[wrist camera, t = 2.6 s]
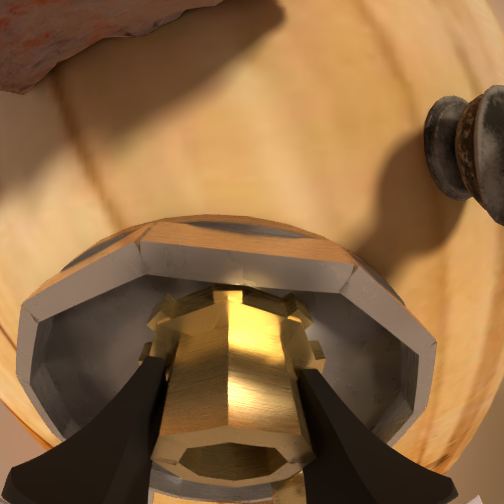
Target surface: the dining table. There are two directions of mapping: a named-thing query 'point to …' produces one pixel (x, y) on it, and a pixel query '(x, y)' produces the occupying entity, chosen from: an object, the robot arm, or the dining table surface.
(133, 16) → the food item
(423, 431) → the dining table surface
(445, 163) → the grey chess piece
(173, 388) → the planet gear
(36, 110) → the dining table surface
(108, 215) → the dining table surface
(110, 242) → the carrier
